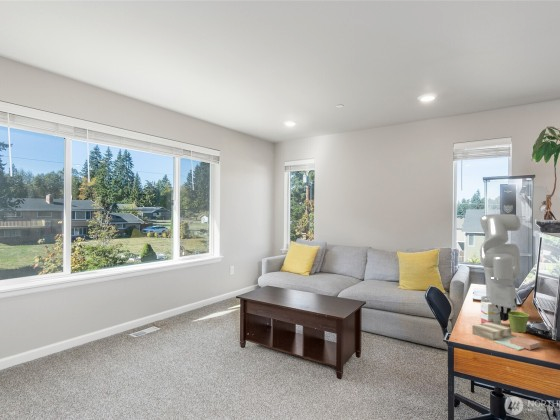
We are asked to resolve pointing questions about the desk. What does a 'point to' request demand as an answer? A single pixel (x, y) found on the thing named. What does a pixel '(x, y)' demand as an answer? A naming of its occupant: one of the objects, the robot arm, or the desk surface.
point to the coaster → (525, 342)
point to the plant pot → (518, 321)
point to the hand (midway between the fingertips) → (504, 320)
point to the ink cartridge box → (489, 311)
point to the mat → (508, 343)
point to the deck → (491, 331)
